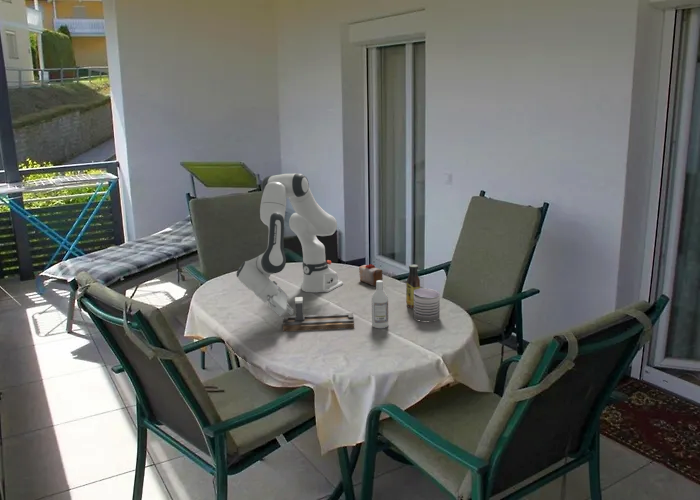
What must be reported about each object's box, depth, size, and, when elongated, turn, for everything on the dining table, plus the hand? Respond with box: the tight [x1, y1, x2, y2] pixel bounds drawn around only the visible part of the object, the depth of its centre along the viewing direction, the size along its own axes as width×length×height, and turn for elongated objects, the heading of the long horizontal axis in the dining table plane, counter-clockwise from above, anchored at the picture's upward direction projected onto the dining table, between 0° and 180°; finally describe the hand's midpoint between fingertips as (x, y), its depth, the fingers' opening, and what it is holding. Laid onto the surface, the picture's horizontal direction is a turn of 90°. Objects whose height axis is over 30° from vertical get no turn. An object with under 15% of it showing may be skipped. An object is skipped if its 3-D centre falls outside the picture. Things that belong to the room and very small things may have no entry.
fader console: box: [282, 312, 355, 332], centre depth 275 cm, size 30×12×4 cm, turn 94°
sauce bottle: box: [405, 264, 421, 309], centre depth 292 cm, size 7×6×20 cm
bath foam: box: [371, 280, 389, 329], centre depth 270 cm, size 7×7×20 cm
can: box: [413, 287, 441, 322], centre depth 279 cm, size 11×11×12 cm
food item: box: [358, 263, 384, 287], centre depth 330 cm, size 14×8×10 cm, turn 35°
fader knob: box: [294, 296, 305, 322], centre depth 273 cm, size 4×5×10 cm
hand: (292, 312), depth 274 cm, fingers closed
